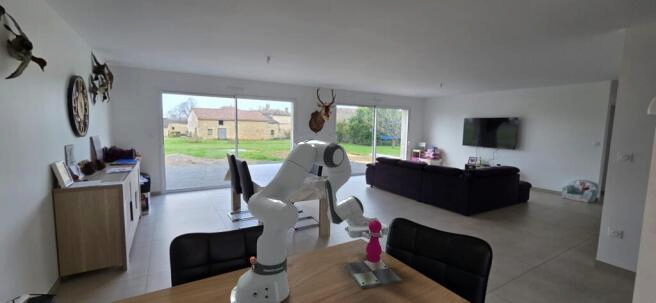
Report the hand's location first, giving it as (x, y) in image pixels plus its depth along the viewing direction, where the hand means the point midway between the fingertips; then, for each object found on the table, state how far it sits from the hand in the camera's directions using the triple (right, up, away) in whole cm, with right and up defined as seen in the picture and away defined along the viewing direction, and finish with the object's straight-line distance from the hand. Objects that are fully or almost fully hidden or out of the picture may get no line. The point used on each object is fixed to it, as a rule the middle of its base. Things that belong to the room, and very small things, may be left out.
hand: (375, 236), depth 125 cm
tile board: (-2, -16, -1) cm, 17 cm away
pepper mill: (-1, -11, +2) cm, 12 cm away
